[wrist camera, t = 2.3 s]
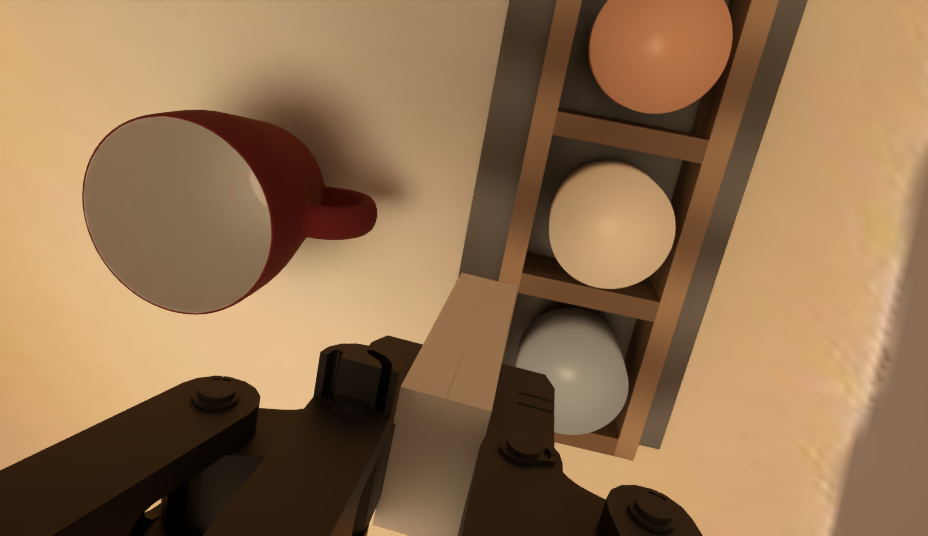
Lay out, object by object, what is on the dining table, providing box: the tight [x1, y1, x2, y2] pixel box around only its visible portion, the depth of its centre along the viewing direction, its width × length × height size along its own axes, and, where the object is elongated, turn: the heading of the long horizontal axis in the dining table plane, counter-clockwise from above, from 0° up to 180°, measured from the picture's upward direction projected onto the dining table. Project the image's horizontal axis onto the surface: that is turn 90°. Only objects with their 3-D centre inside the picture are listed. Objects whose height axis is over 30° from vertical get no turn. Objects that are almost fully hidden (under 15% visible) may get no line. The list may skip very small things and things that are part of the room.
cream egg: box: [549, 159, 676, 289], centre depth 27 cm, size 5×5×3 cm
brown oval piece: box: [587, 0, 733, 114], centre depth 25 cm, size 5×5×3 cm
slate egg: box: [516, 308, 629, 435], centre depth 29 cm, size 5×5×3 cm
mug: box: [82, 110, 377, 314], centre depth 28 cm, size 10×8×10 cm
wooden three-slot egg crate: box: [459, 0, 808, 461], centre depth 29 cm, size 26×13×4 cm, turn 170°
